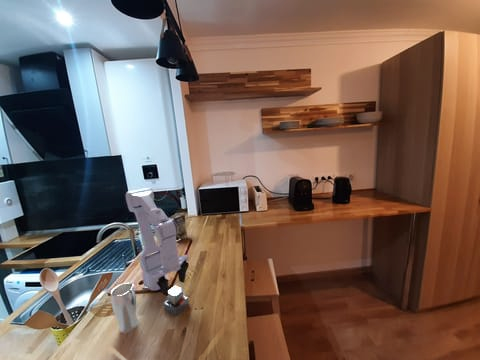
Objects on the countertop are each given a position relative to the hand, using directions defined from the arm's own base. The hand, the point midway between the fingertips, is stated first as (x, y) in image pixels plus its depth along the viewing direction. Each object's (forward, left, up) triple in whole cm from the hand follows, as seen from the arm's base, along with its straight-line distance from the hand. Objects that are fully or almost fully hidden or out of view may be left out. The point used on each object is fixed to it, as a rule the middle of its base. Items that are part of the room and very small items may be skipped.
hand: (174, 287), depth 74 cm
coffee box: (-46, +43, -9) cm, 64 cm away
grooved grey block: (0, 0, -8) cm, 8 cm away
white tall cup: (-9, -13, -9) cm, 19 cm away
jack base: (0, 0, -9) cm, 9 cm away
